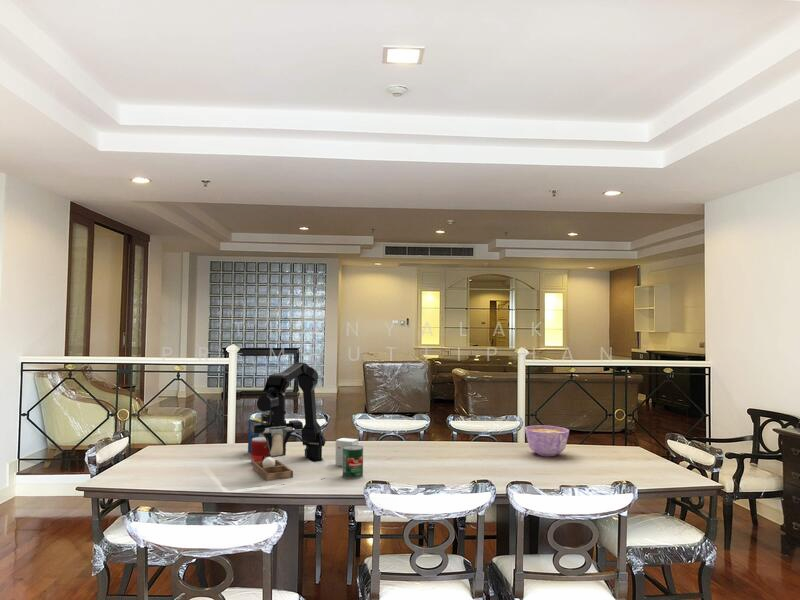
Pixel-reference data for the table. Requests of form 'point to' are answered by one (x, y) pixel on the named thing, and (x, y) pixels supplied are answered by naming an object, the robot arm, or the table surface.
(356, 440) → the small box
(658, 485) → the table surface
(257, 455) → the canned food
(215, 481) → the table surface
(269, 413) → the robot arm
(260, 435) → the protein box
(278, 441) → the cylinder
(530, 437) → the bowl of food
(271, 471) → the crate
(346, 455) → the canned tomato
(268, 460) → the ball
